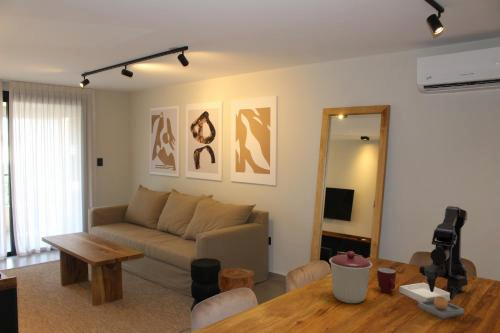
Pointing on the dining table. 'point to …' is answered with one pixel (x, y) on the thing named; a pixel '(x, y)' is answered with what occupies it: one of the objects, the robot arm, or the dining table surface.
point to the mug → (386, 279)
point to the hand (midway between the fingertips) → (441, 295)
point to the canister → (350, 277)
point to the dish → (423, 292)
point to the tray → (442, 313)
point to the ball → (440, 302)
